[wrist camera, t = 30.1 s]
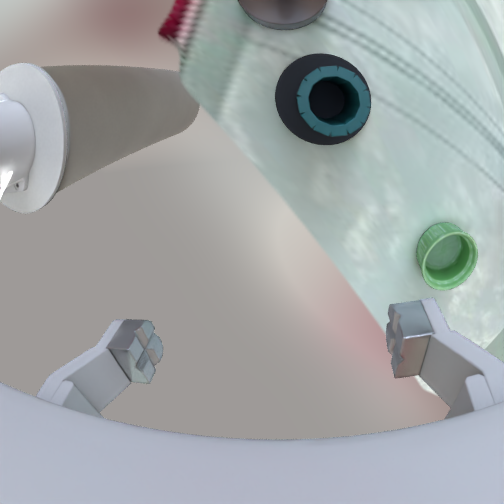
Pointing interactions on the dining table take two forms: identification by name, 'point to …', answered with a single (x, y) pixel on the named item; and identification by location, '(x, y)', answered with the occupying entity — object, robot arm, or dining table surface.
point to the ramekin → (446, 256)
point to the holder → (283, 12)
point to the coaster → (313, 97)
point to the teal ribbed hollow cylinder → (353, 106)
